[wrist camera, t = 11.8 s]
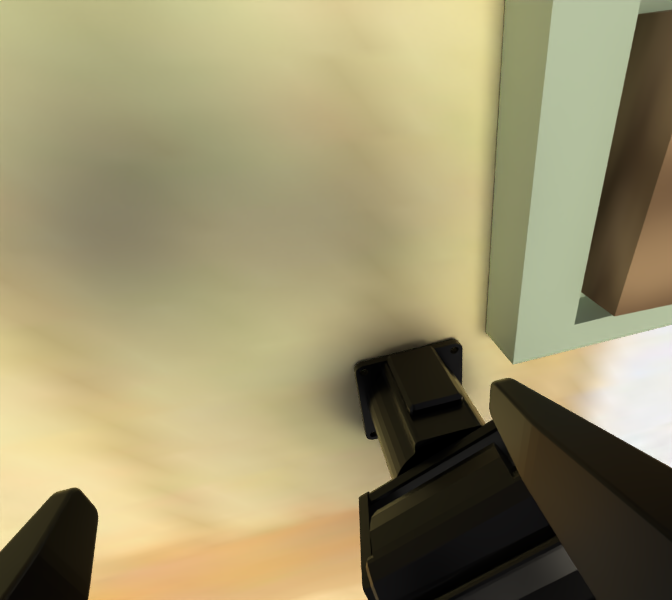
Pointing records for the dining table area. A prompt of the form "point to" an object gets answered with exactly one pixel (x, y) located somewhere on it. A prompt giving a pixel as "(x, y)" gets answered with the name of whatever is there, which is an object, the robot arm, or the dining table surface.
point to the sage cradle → (556, 172)
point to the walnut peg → (637, 183)
